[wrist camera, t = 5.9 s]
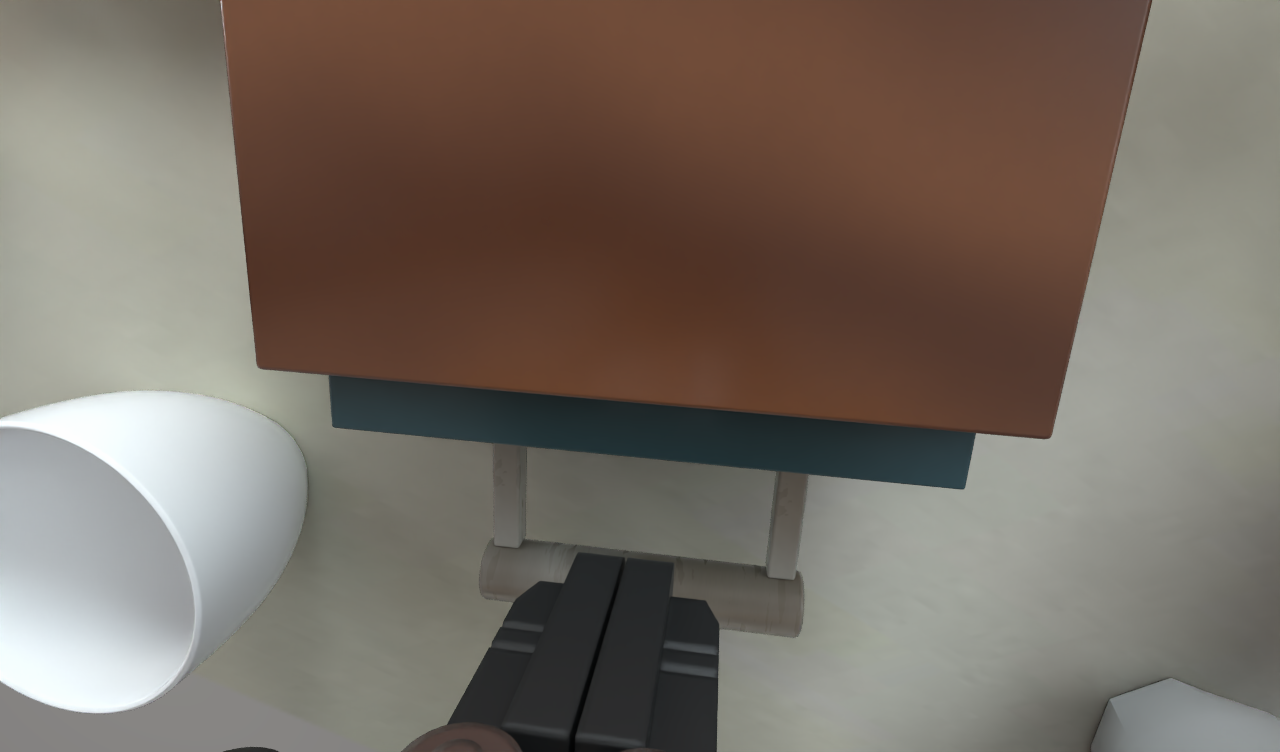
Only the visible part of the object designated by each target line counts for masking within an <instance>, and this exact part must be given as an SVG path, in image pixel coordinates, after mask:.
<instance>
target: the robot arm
mask: <svg viewBox="0 0 1280 752" xmlns="http://www.w3.org/2000/svg"><path fill="white" fill-rule="evenodd" d="M673 582H674V563H673V562H664V561H656V560H647V559H638V558H630V557H628V558H627V561H625V557H619V556H611V555H602V554H593V553H585V552H578V553H577V555H576V557H575V559H574V561H573V564H572V566H571V568H570V570H569V573H568V575H567V577H566V579H565V582H564V583H556V582H548V581H539V582H537V583H536V584H535V585H533V586H532V587H531V588H529V589H528V590H527V591H525V592H524V593H523V594H522V595H520V596H519V597H518V598H516V599H515V601H514V603H513V605H512V607H511V609H510V610H509V612H508V614H507V616H506V618H505V620H504V621H503V626H502V627H500V629H499V631H498V632H497V634H496V636H495V638H494V640H493V641H492V646H491V648H490V647H489V649H488V651H487V652H486V654H485V656H484V658H483V660H482V662H481V663H480V665H479V667H478V669H477V671H476V673H475V674H474V676H473V678H472V680H471V682H470V683H469V685H468V687H467V689H466V691H465V693H464V694H463V696H462V698H461V700H460V702H459V704H458V705H457V707H456V709H455V711H454V713H453V715H452V716H451V718H450V720H449V722H448V724H447V725H446V726H442V727H439V728H437V729H434V730H431V731H429V732H427V733H426V734H424V735H422V736H420V737H418V738H417V739H416V740H414V741H413V742H411V743H410V744H409V745H408V746H407V747H406V748H404V749H403V750H402V751H401V752H717V710H718V664H719V655H718V654H719V623H718V621H717V619H716V617H715V616H714V614H713V612H712V610H711V609H710V607H709V605H708V604H707V602H706V601H705V600H697V599H689V598H681V597H673ZM224 752H278V751H276V750H273V749H268V748H263V747H246V748H237V749H232V750H228V751H224Z"/></svg>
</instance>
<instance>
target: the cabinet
mask: <svg viewBox="0 0 1280 752" xmlns="http://www.w3.org/2000/svg"><path fill="white" fill-rule="evenodd" d="M1151 4H1152V0H220V7H221V17H222V27H223V37H224V47H225V56H226V66H227V76H228V86H229V96H230V106H231V115H232V125H233V135H234V145H235V155H236V165H237V175H238V184H239V194H240V204H241V214H242V224H243V234H244V244H245V253H246V263H247V273H248V283H249V293H250V303H251V312H252V322H253V332H254V342H255V352H256V362H257V366H258V368H260V369H264V370H275V371H286V372H297V373H309V374H320V375H331V376H342V377H353V378H365V379H376V380H387V381H398V382H409V383H421V384H432V385H443V386H454V387H465V388H477V389H488V390H499V391H510V392H521V393H533V394H544V395H555V396H566V397H577V398H589V399H600V400H611V401H622V402H633V403H644V404H656V405H667V406H678V407H689V408H700V409H712V410H723V411H734V412H745V413H756V414H768V415H779V416H790V417H801V418H812V419H824V420H835V421H846V422H857V423H868V424H880V425H891V426H902V427H913V428H924V429H936V430H947V431H958V432H969V433H980V434H991V435H1003V436H1014V437H1025V438H1036V439H1049V438H1050V437H1051V436H1052V432H1053V427H1054V423H1055V419H1056V414H1057V410H1058V406H1059V401H1060V397H1061V393H1062V388H1063V384H1064V380H1065V375H1066V371H1067V367H1068V362H1069V358H1070V354H1071V349H1072V345H1073V341H1074V337H1075V332H1076V328H1077V324H1078V319H1079V315H1080V311H1081V306H1082V302H1083V298H1084V293H1085V289H1086V285H1087V280H1088V276H1089V272H1090V267H1091V263H1092V259H1093V254H1094V250H1095V246H1096V241H1097V237H1098V233H1099V228H1100V224H1101V220H1102V215H1103V211H1104V207H1105V202H1106V198H1107V194H1108V189H1109V185H1110V181H1111V177H1112V172H1113V168H1114V164H1115V159H1116V155H1117V151H1118V146H1119V142H1120V138H1121V133H1122V129H1123V125H1124V120H1125V116H1126V112H1127V107H1128V103H1129V99H1130V94H1131V90H1132V86H1133V81H1134V77H1135V73H1136V68H1137V64H1138V60H1139V55H1140V51H1141V47H1142V42H1143V38H1144V34H1145V29H1146V25H1147V21H1148V16H1149V12H1150V8H1151Z"/></svg>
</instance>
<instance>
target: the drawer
mask: <svg viewBox="0 0 1280 752" xmlns="http://www.w3.org/2000/svg"><path fill="white" fill-rule="evenodd" d="M329 387H330V401H331V415H332V426H333V427H334V428H344V429H354V430H364V431H374V432H384V433H394V434H404V435H415V436H425V437H435V438H445V439H455V440H465V441H475V442H486V443H493V494H494V537H493V538H491V540H490V541H489V542H488V544H487V547H486V549H485V551H484V554H483V558H482V561H481V566H480V574H479V588H480V593H481V595H482V597H483V598H485V599H489V600H497V601H504V602H512V603H514V601H515V599H516V598H518V597H519V596H520V595H522V594H523V593H524V592H525V591H527V590H528V589H529V588H531V587H532V586H533V585H535V584H536V583H537V582H539V581H548V582H556V583H564V582H565V579H566V577H567V575H568V573H569V570H570V568H571V566H572V564H573V561H574V559H575V557H576V555H577V553H578V552H585V553H593V554H602V555H611V556H619V557H625V561H627V558H628V557H630V558H638V559H647V560H656V561H664V562H673V563H674V582H673V597H681V598H689V599H697V600H705V601H706V602H707V604H708V605H709V607H710V609H711V610H712V612H713V614H714V616H715V617H716V619H717V621H718V623H719V629H727V630H735V631H743V632H751V633H759V634H767V635H775V636H782V637H790V638H796V637H798V636H799V634H800V632H801V629H802V624H803V616H804V583H803V578H802V575H801V572H799V571H797V570H796V569H797V562H798V554H799V547H800V539H801V531H802V524H803V516H804V508H805V501H806V493H807V485H808V478H809V474H810V475H820V476H830V477H841V478H851V479H861V480H871V481H881V482H891V483H901V484H911V485H922V486H932V487H942V488H952V489H964V488H965V485H966V480H967V475H968V470H969V465H970V460H971V455H972V450H973V445H974V440H975V435H976V433H969V432H958V431H947V430H936V429H924V428H913V427H902V426H891V425H880V424H868V423H857V422H846V421H835V420H824V419H812V418H801V417H790V416H779V415H768V414H756V413H745V412H734V411H723V410H712V409H700V408H689V407H678V406H667V405H656V404H644V403H633V402H622V401H611V400H600V399H589V398H577V397H566V396H555V395H544V394H533V393H521V392H510V391H499V390H488V389H477V388H465V387H454V386H443V385H432V384H421V383H409V382H398V381H387V380H376V379H365V378H353V377H342V376H331V375H329ZM527 447H536V448H546V449H557V450H567V451H577V452H587V453H597V454H607V455H617V456H628V457H638V458H648V459H658V460H668V461H678V462H688V463H699V464H709V465H719V466H729V467H739V468H749V469H759V470H770V471H776V476H775V485H774V493H773V502H772V511H771V519H770V528H769V536H768V545H767V554H766V562H765V563H766V567H765V566H757V565H748V564H739V563H731V562H722V561H713V560H704V559H696V558H687V557H678V556H669V555H661V554H652V553H643V552H635V551H626V550H617V549H608V548H600V547H591V546H582V545H573V544H565V543H556V542H547V541H539V540H530V539H524V538H525V536H526V476H527Z"/></svg>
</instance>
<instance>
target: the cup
mask: <svg viewBox="0 0 1280 752" xmlns="http://www.w3.org/2000/svg"><path fill="white" fill-rule="evenodd" d="M307 498H308V472H307V466H306V463H305V459H304V457H303V454H302V452H301V450H300V448H299V446H298V445H297V443H296V442H295V440H294V439H293V438H292V436H291V435H290V434H289V433H288V432H287V431H286V430H285V429H284V428H283V427H282V426H280V425H279V424H278V423H276V422H275V421H273V420H272V419H270V418H268V417H266V416H264V415H262V414H260V413H258V412H256V411H254V410H252V409H249V408H247V407H245V406H242V405H239V404H237V403H234V402H231V401H227V400H224V399H220V398H216V397H212V396H207V395H201V394H195V393H188V392H178V391H164V390H133V391H121V392H110V393H103V394H96V395H90V396H85V397H79V398H74V399H70V400H65V401H60V402H56V403H52V404H48V405H43V406H40V407H36V408H32V409H28V410H25V411H21V412H18V413H14V414H11V415H7V416H4V417H0V682H2V683H4V684H5V685H7V686H8V687H10V688H12V689H13V690H15V691H17V692H19V693H21V694H23V695H25V696H27V697H29V698H31V699H34V700H36V701H39V702H41V703H44V704H47V705H50V706H53V707H56V708H60V709H63V710H68V711H73V712H79V713H89V714H113V713H120V712H126V711H130V710H134V709H137V708H140V707H143V706H145V705H148V704H150V703H152V702H154V701H156V700H157V699H159V698H161V697H162V696H163V695H165V694H166V693H167V692H169V691H170V690H171V689H172V688H174V687H175V686H176V685H177V684H178V683H179V682H181V681H182V680H183V679H184V678H185V677H186V676H188V675H189V674H190V673H191V672H192V671H193V670H195V669H196V668H197V667H198V666H199V665H200V664H202V663H203V662H204V661H205V660H206V659H207V658H209V657H210V656H211V655H212V654H213V653H214V652H215V651H216V650H217V649H219V648H220V647H221V646H222V645H223V644H224V643H225V642H226V641H227V640H228V639H229V638H230V637H231V636H232V635H233V634H234V633H235V632H236V631H237V630H238V629H239V628H240V627H241V626H242V625H243V624H244V623H245V622H246V621H247V620H248V619H249V618H250V616H251V615H252V614H253V613H254V612H255V611H256V610H257V608H258V607H259V606H260V605H261V604H262V602H263V601H264V600H265V598H266V597H267V596H268V594H269V593H270V592H271V590H272V589H273V587H274V586H275V584H276V583H277V581H278V580H279V578H280V576H281V575H282V573H283V571H284V569H285V567H286V566H287V564H288V562H289V560H290V558H291V555H292V553H293V551H294V549H295V546H296V544H297V541H298V539H299V536H300V533H301V530H302V526H303V523H304V518H305V514H306V507H307Z"/></svg>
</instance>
